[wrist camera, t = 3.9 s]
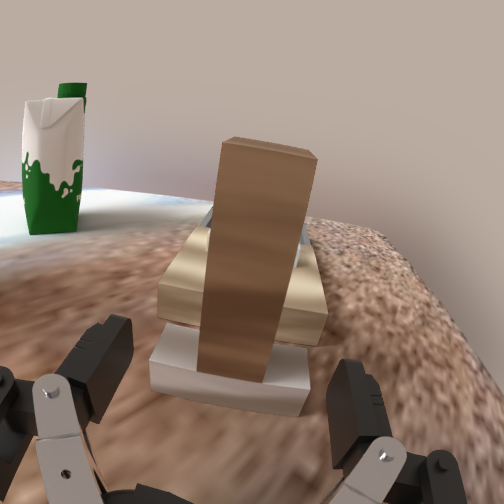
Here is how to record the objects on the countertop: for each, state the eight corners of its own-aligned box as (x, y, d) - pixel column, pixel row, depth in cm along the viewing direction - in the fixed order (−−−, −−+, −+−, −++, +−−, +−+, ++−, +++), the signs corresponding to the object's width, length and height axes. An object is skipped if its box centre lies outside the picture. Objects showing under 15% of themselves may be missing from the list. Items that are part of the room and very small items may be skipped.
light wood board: (316, 346, 27) (328, 314, 25) (157, 317, 27) (157, 283, 25) (306, 272, 39) (312, 246, 38) (194, 251, 39) (197, 225, 38)
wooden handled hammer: (297, 417, 19) (383, 175, 13) (151, 390, 19) (155, 134, 13) (296, 376, 23) (361, 162, 16) (166, 353, 23) (181, 129, 16)
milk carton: (82, 234, 38) (89, 81, 30) (21, 238, 34) (21, 84, 26) (83, 212, 45) (90, 84, 37) (31, 215, 41) (33, 87, 33)
